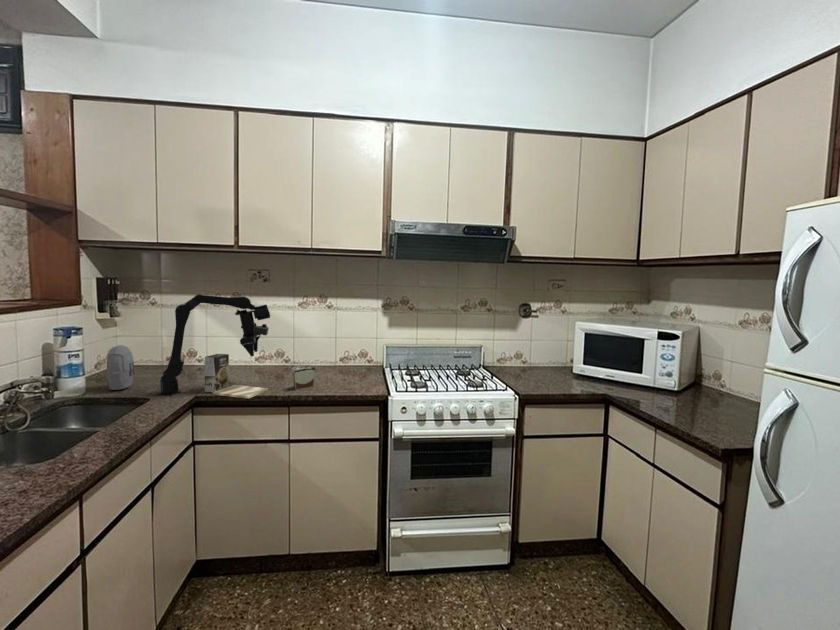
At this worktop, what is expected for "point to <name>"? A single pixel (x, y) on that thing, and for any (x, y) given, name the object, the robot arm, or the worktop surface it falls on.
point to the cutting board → (240, 391)
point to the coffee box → (216, 372)
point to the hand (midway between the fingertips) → (254, 354)
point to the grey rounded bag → (120, 368)
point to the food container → (303, 376)
